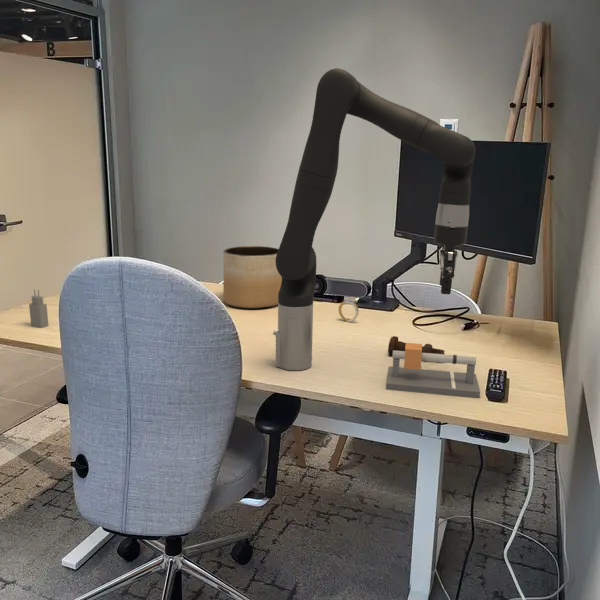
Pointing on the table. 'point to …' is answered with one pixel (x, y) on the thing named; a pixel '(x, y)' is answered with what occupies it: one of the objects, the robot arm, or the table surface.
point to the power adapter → (38, 312)
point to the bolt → (400, 346)
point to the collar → (413, 356)
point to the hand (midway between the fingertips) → (444, 289)
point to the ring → (350, 301)
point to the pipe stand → (434, 376)
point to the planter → (251, 277)
